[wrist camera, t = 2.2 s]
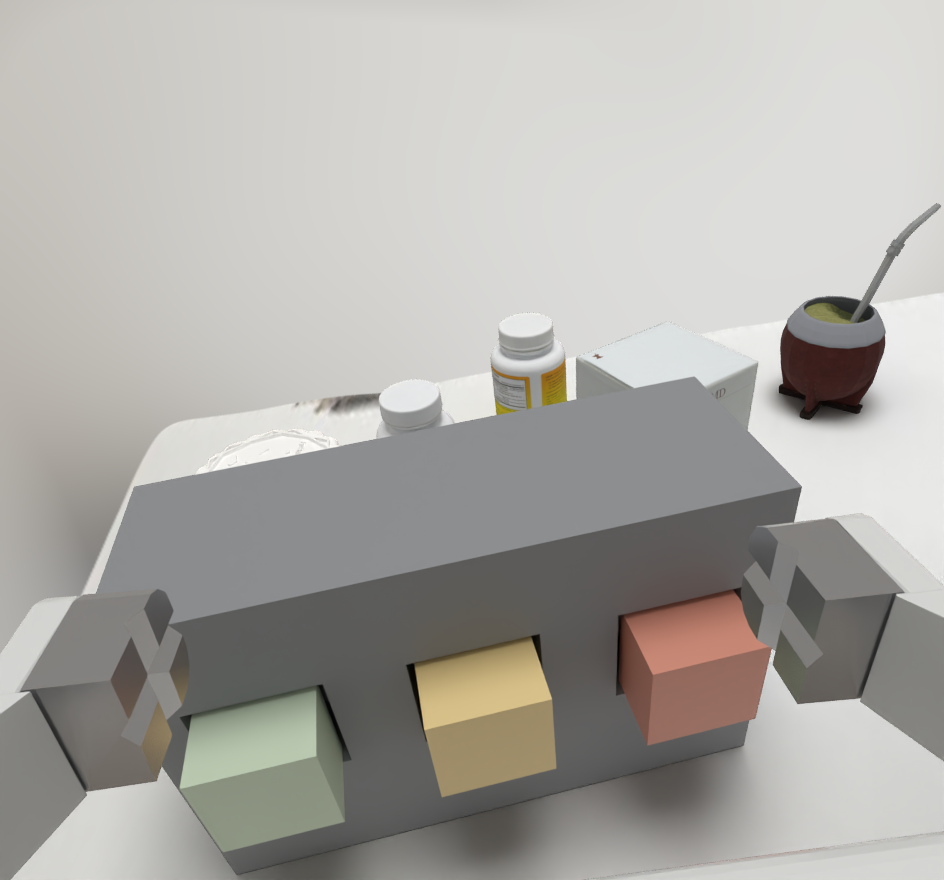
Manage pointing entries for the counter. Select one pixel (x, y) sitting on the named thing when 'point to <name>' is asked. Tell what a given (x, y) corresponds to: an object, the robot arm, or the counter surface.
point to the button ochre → (486, 715)
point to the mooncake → (268, 448)
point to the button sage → (264, 769)
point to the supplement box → (669, 367)
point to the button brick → (691, 666)
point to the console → (453, 582)
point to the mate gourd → (837, 343)
